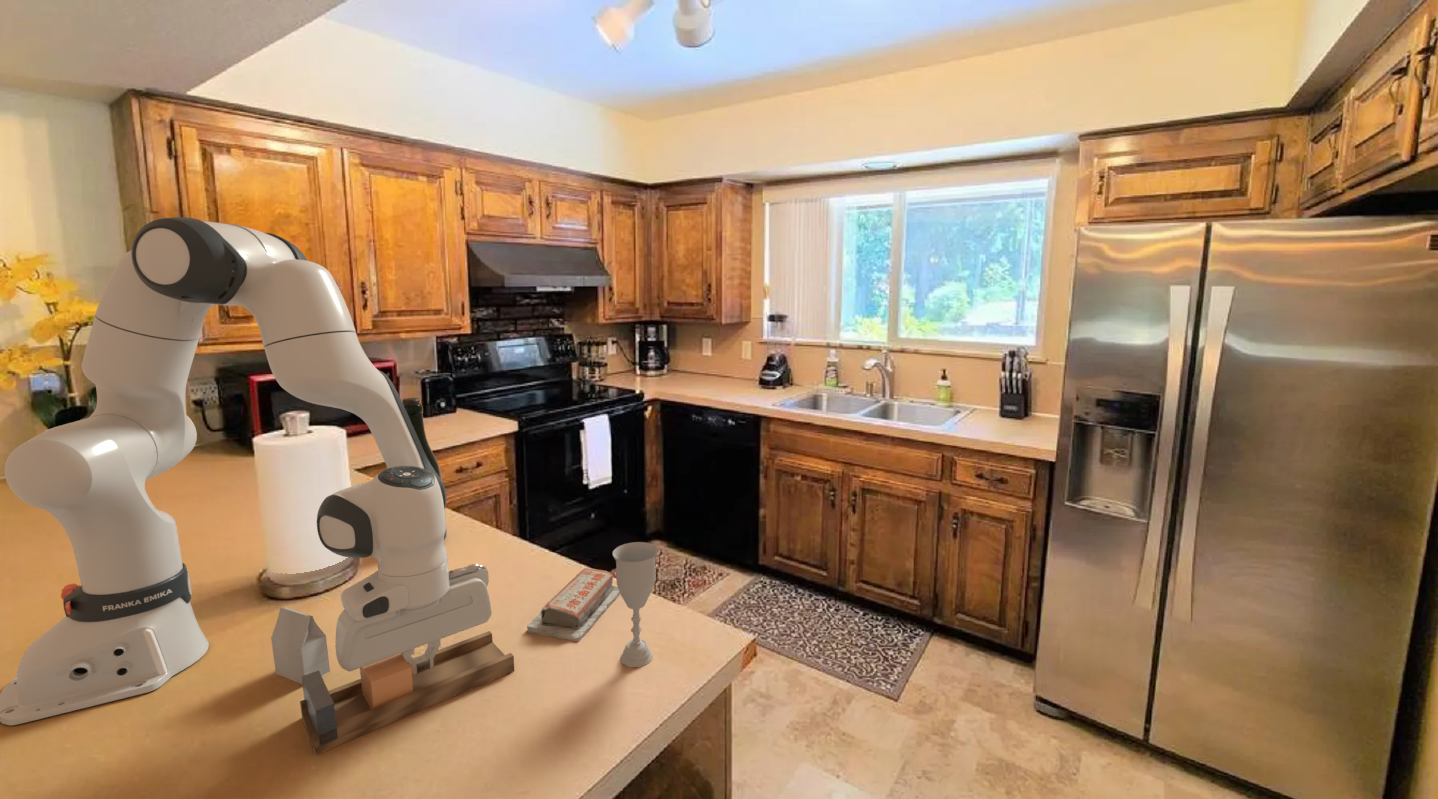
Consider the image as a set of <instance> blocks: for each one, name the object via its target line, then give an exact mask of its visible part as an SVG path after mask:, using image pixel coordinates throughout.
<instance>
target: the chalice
mask: <svg viewBox="0 0 1438 799" xmlns="http://www.w3.org/2000/svg"><path fill="white" fill-rule="evenodd" d="M658 553H659V548H658V546H656V545H655V544H652V543H650V542H645V541H636V542H628V543H624V544H621V545H619V546H616V548H615V549H614V550H613V551H612V557H613V558H614V560H615V564H616V566H615V567H616V568H615V570H616V571H615V572H616V587H618V589H619V592H620V594H619V595H620V596H621V598H622V599H623V601H624V603H625V605H626V607H627V608H628V609H631V610H633V613H632V616H631V619H630V620H631V622H632V624H633V625H632V627H631V628H630V632H631V633H632V635H633V637H632V638H633V639H631V640H630V641H628V642H627V643H626V645H625V646H624V649H623V651H622V654H621V656H620V661H621V663H622V664H623V665H625V666H626V667H629V668H641V667H644V666H646V665H648V664H649V663H651V661H652V660H653V658H654V657H653V653H652V652H651V649H650V648H649V644H647V642H646V641H645V640H643V639H641V637H640V633H641V632H642V630H643V628H642V627H641V626H640V622H641V620H642V617H641V614H640V610H641V609H642V608H644V607H645V605H646V604H647V601H648V600H649V597H650V595H651V594H652V591H653V588H654V585H655V583H656V557H657V555H658Z"/></svg>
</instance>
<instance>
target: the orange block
mask: <svg viewBox="0 0 1438 799" xmlns="http://www.w3.org/2000/svg"><path fill="white" fill-rule="evenodd" d="M359 674H360V679H361V685H362V694H363V696H364V698H365V700H366V702H367V703H368V705H369V707H370V709H373V708H376V707H378V706H381V705H383V704H386V703H388V702H391V701H393V700H395V699H398V698H400V697H403V696H405V695H408V694H410V693H413V683H412V672H411V667H410V665H409V664H408V662H407V661H406V660H405V659H404V658H403V656H402V655H401V653H400V654H397V655H395V656H392V657H389V658H386V659H384V660H381V661H378V662H375V663H373V664H370V665H367V666H364V667H361V668H359Z"/></svg>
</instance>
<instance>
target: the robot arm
mask: <svg viewBox="0 0 1438 799" xmlns="http://www.w3.org/2000/svg"><path fill="white" fill-rule="evenodd" d="M215 305H217V306H228V307H229V306H231V307H235V306H236V307H237V306H241V307H242V308H245V309H246V310H247V311H249V312H250V313H251V315H252V316H253V317H254V319H255V322H256V324H257V327H258V330H259V333H260V338H261V342H262V346H263V349H264V351H265V355H266V359H267V361H268V362H267V363H268V365H269V369H270V370H271V373H272V375H273V377H274V378H275V381H276V382H277V383H278V385H279V386H280V387H281V388H282V389H283V390H284V391H286V392H287V393H288V394H290V395H292V396H293V397H295V398H297V399H299V400H301V401H304V402H307V403H311V404H314V405H318V406H324V407H328V408H329V407H330V408H334V409H340V410H344V411H346V412H350V413H352V414H354V415H355V416H357V417H359V418H360V419H361V420H362V421H363V422H364V423H365V424H366V426H367V427H368V429H369V431H370V432H371V435H372V437H373V439H374V441H375V443H376V445H377V448H378V450H379V452H380V455H381V457H382V459H383V460H384V463H385V465H386V469H384V470H381V471H380V472H379V473H378V474H376V475H375V476H374V477H373V478H372V479H369V480H368V481H366V482H362V483H359V484H355V485H352V486H350V487H347V488H344V489H341V490H339V491H336V492H334V493H332V494H330V495H328V496H326V497H325V498H324V500H323V501H322V502H321V503H320V506H319V508H318V511H317V514H316V529H317V533H318V538H319V541H320V542H321V544H322V545H323V547H324V548H326V549H327V550H329V551H330V552H331V553H334V554H335V555H338V556H341V557H346V558H356V559H360V558H361V559H365V558H369V557H373V558H375V559H376V560H377V570H376V571H375V572H373V573H372V574H369V575H368V576H367V577H365V578H363V579H361V580H359V581H357V582H355V583H354V584H353V585H350V586H348V587H347V588H345V589H343V591H342V592H341V593H340V594H341V595H340V600H341V604H342V607H343V610H342V611H341V613H340V614H339V616H338V618H337V621H336V627H335V656H336V660H337V662H338V664H339V666H340V668H342V669H343V670H344V671H347V672H354V671H356V670H358V669H359V670H360V668H361V667H364V666H367V665H370V664H373V663H375V662H378V661H381V660H384V659H386V658H389V657H392V656H395V655H397V654H400V653H401V655H402V656H403V658H404V659H405V660H406V661H407V662H408V663H409V665H410V667H411V672H412V675H413V676H414V675H416V674H419V673H421V672H424V671H426V670H429V669H431V668H434V661H433V658H434V657H435V655H436V653H437V651H438V650H440V647H441V645H442V644H441V639H445V638H446V637H450V636H452V635H456V634H458V633H461V632H464V631H465V630H466V631H467V630H470V629H472V628H475V627H478V626H480V625H483V624H485V623H487V622H488V621H489V620H490V618H491V616H492V614H493V613H492V612H493V611H492V604H491V598H490V593H489V591H488V588H487V587H488V586H489V582H490V580H489V578H490V576H489V570H488V568H487V567H485V566H484V565H481V564H480V565H479V564H478V563H472V564H469V565H468V566H464V567H461V568H460V567H459V568H455V569H452V570H449V569H450V568H449V558H448V552H447V549H446V546H445V540H444V535H445V531H446V530H447V521H446V522H445V517H446V507H447V497H448V496H447V490H446V486H445V484H444V483H443V480H442V481H441V479H440V477H439V476H438V474H437V473H436V471H435V470H434V469H433V467H432V466H431V464H430V462H429V460H428V458H427V456H426V454H425V452H424V450H423V448H422V445H421V443H420V441H419V439H418V436H417V434H416V432H415V430H414V427H413V425H412V423H411V421H410V418H409V416H408V414H407V412H406V409H405V407H404V405H403V403H402V399H401V397H400V394H399V392H398V391H397V389H396V387H395V385H394V384H393V381H392V380H391V379H390V377H389V376H388V375H387V374H385V372H383V371H382V370H379V369H377V367H376V366H375V365H374V364H373V363H372V362H371V360H370V359H369V357H368V356H367V354H366V352H365V350H364V349H363V347H362V345H361V343H360V341H359V337H358V335H357V333H356V332H357V331H356V328H355V324H354V322H353V318H352V316H351V313H350V310H349V307H348V306H347V303H346V300H345V298H344V296H343V295H342V292H341V290H340V288H339V285H338V284H337V282H336V281H335V278H334V276H333V275H332V273H331V272H330V271H329V270H328V269H327V268H326V267H324V266H323V265H321V264H319V263H316V262H314V261H310V260H308V259H307V257H306V256H305V254H304V252H302V251H301V250H300V248H299V247H298V246H296V245H295V244H294V243H293V242H291V241H289V240H287V239H285V238H283V237H281V236H278V235H277V234H274V233H269V232H262V231H260V230H258V229H255V228H251V227H247V226H244V225H243V226H242V225H239V224H235V223H222V222H216V221H215V222H214V221H206V220H205V221H204V220H201V219H197V218H194V217H184V216H182V217H181V216H180V217H178V216H174V217H173V216H172V217H163V218H159V219H154V220H152V221H149V222H148V223H146V224H145V225H143V226H142V227H141V228H140V230H139V231H138V232H137V233H136V235H135V236H134V238H133V242H132V244H131V250H129V251H127V252H126V253H124V254H123V255H122V257H121V258H120V260H119V261H118V263H117V264H116V265H115V268H114V269H113V271H112V273H111V274H110V276H109V278H108V281H107V282H106V285H105V286H104V289H103V291H102V293H101V297H100V299H99V302H98V305H97V308H96V311H95V314H94V319H93V321H92V324H91V329H90V331H89V335H88V339H87V343H86V345H85V346H86V347H85V349H84V350H85V351H84V353H83V358H82V360H81V370H82V373H83V375H84V376H85V378H86V379H87V380H89V381H90V382H91V383H92V384H94V386H95V388H96V389H95V390H96V407H95V408H94V410H93V412H92V413H91V414H90V416H88V417H87V418H83V419H80V420H76V421H73V422H68V423H65V424H62V425H58V426H53V427H52V428H49V429H47V430H45V431H43V432H40V433H39V434H37V435H35V436H34V437H32V438H29V440H26V441H25V442H23V443H22V444H20V445H19V446H17V447H16V448H14V449H13V450H12V451H11V453H9V455H8V457H7V459H6V461H5V465H4V478H5V482H6V483H7V485H8V487H9V489H10V490H11V491H12V493H13V494H14V495H15V496H16V497H18V498H19V500H21V501H23V502H24V503H26V504H28V505H30V506H32V507H35V508H38V509H41V510H45V511H46V512H48V513H49V514H51V515H52V516H53V517H54V518H55V519H56V520H57V521H58V523H59V524H60V525H61V527H62V528H63V530H64V531H65V533H66V534H67V536H68V539H69V542H70V544H71V546H72V549H73V554H74V558H75V562H76V567H77V570H78V576H79V580H80V584H79V585H78V584H77V583H68V584H67V585H65V586H64V587H63V588H62V589H61V594H60V597H61V599H62V601H63V602H62V604H63V610H64V614H65V617H63V618H62V619H61V620H60V621H59V622H57V623H55V625H53V626H52V627H51V628H49V629H48V630H47V631H46V632H45V633H43V634H42V635H40V637H38V638H37V639H35V640H34V641H33V642H32V643H31V644H30V645H29V646H28V647H27V648H26V650H25V651H24V653H23V655H22V657H21V658H20V662H19V664H18V666H17V673H16V677H15V678H13V679H12V680H10V682H8V684H6V685H5V687H4V688H3V689H2V691H1V692H0V723H1V724H3V725H7V726H16V725H21V724H24V723H25V724H26V723H29V722H33V721H37V720H42V719H45V718H48V717H54V716H57V715H62V714H65V713H70V712H74V711H76V710H81V709H86V708H90V707H95V706H98V705H102V704H106V703H110V702H114V701H119V700H122V699H127V698H130V697H135V696H139V695H143V694H146V693H150V692H152V691H155V690H157V689H159V688H160V687H162V686H164V684H165V683H167V682H168V681H169V680H170V679H171V678H172V677H173V676H175V675H176V674H179V673H180V672H182V671H184V670H186V669H187V668H189V667H190V666H192V665H193V664H195V663H196V662H197V661H198V660H201V658H202V657H203V656H204V655H206V653H207V651H208V649H209V645H210V643H209V641H208V639H207V637H206V636H205V634H204V633H203V631H202V629H201V627H200V625H199V623H198V619H197V618H196V615H195V613H194V609H193V606H192V604H191V599H192V595H193V594H192V584H191V579H190V573H189V570H188V567H187V565H186V564H185V563H184V562H183V558H182V553H181V552H182V551H181V546H180V541H179V540H180V539H179V534H178V528H177V523H176V520H175V518H173V516H172V515H171V514H170V513H167V512H166V511H163V510H160V509H157V508H156V507H155V505H154V504H153V502H152V501H151V499H150V497H149V495H148V493H147V491H146V485H145V484H146V481H147V480H150V479H151V478H154V477H156V476H158V475H161V474H163V473H165V472H167V471H169V470H172V468H174V467H175V466H176V465H178V464H179V463H180V462H181V461H183V460H184V459H185V458H186V457H187V456H189V454H190V453H191V452H192V451H193V449H194V448H195V446H196V443H197V438H198V437H197V436H198V433H197V429H196V426H195V424H194V422H193V421H192V419H191V418H190V417H189V415H187V405H186V402H187V401H186V394H187V393H186V391H187V384H188V379H189V375H190V372H191V369H192V368H191V367H192V364H193V361H194V358H195V353H196V351H197V347H198V343H199V341H200V337H201V334H202V331H203V326H204V322H205V319H206V316H207V314H208V312H209V311H210V309H211V308H212V307H214V306H215ZM425 645H427V647H426V649H425V651H424V653H423V654H421V655H419V656H416V657H413V655H415V649H416V648H419V647H422V646H425Z"/></svg>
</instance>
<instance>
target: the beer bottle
mask: <svg viewBox="0 0 1438 799" xmlns="http://www.w3.org/2000/svg"><path fill="white" fill-rule="evenodd" d="M401 401H402V403H403V405H404V407H405V409H406V412H407V414H408V416H409V418H410V421H411V423H412V425H413V427H414V430H415V432H416V434H417V436H418V439H419V441H420V443H421V445H422V448H423V450H424V452H425V454H426V456H427V458H428V460H429V462H430V464H431V466H432V467H433V469H434V470H435V471H436V473H437V474H438V476H439V477H440V479H441V481H442V482H443V478H442V471H441V468H440V465H439V463H438V460H437V458H436V456H435V454H434V452H433V451H432V448H431V446H430V444H429V442H428V438H427V436H426V431H425V424H424V415H423V413H424V412H423V411H424V407H423V405H422V403H420V402H421V401H420V398H419V397H406V398H402V399H401ZM446 519H447V518H446V516H445V522H446V523H447V520H446ZM447 532H448V531H447V529H446V531H445V535H444V541H445V539H446V538H447Z"/></svg>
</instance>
